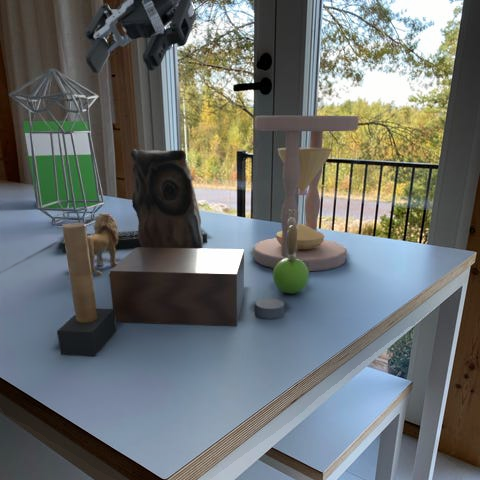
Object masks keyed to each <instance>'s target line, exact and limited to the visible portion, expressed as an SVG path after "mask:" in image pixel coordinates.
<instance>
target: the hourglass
mask: <svg viewBox="0 0 480 480" xmlns="http://www.w3.org/2000/svg"><path fill="white" fill-rule="evenodd" d="M359 120H360V119H359V116H357V115H256V116H255V117H254V130H256V131H263V132H264V131H265V132H266V131H267V132H285V147H280V148H279V147H278V148H277V152H278V156H279V158H280V160H281V161H282V163H283V167H282V184H283V188H284V193H285V196H284V197H285V198H284V202H283V204H282V207H281V212H280V223H281V231H278V232H276V234H275V235H276V237H274V238H268V239H267V238H266V239H264V240H261V241H258V242H257V243H256V244H254V246H253V247H252V258H253V259H254V262H256V263H258V264H260V265H261V266H263V267H266V268H271V269H274V268H275V266H276V265H277V264H278V263H279V262H280V261H281V260H283V259H285V258H288V256H287V248H286V236H287V231H288V219H289V213H288V210H289V209H290V210H291V211H293V210H296V212H295V213H293V212H291V213H290V218H291V217H293V218H294V219H295V220H296V224H295V226H296V227H297V254H296V258H297V259H299V260H301V261H302V262H304V263H305V265H306V266H307V268H308V271H309V272H320V271H321V272H322V271H327V270H332V269H336V268H339V267H340V266H342V265H344V264H345V262H346V258H347V250H348V249H347V248H346V247H345V246H344V245H342V244H341V243H339V242H336V241H333V240H329V239H325V234H324V233H323V232H320V231H318V218H319V213H320V209H321V197H320V193H319V188H318V186H319V183H320V180H321V178H322V173H323V166H324V165H325V164H326V162H327V160H328V159H329V158H330V156H331V153H332V151H333V150H332V149H333V148H329V147H328V148H326V147H323V138H324V132H353V131H354V132H355V131H357V130H358V129H359ZM301 132H310V134H309V135H310V136H309V147H301ZM307 188H308V190H307ZM296 194H297V195H298V196H305V200H304V216H305V217H304V218H305V223H304V224H303V223H299V208H298V203H297V198H296ZM298 223H299V224H298Z"/></svg>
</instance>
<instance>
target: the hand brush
mask: <svg viewBox="0 0 480 480" xmlns="http://www.w3.org/2000/svg"><path fill="white" fill-rule="evenodd" d="M61 225H62V226H61V227H62V234H63V238H64V242H65V248H66V252H65V255H66V260H67V269H68V275H69V281H70V289H71V294H72V302H73V308H74V315H73V316H72V317H70V318H69V319H68V320H67V321H66V322H65V323H64V324H63V325H61V326H60V328H58V329H57V330H56V333H57V340H58V345H59V350H60V351H59V352H60V355H61V356H81V357H82V356H84V357H96V356H97V354H98V353H99V352H100V351H101V350H102V348H103V347H104V346H105V345H106V344H107V343H108V342H109V340H110V339H111V338H112V337H113V336H114V334H115V333H116V332H117V326H116V324H117V323H116V322H115V315H114V309H113V308H100V307H99V308H98V307H97V302H96V295H95V287H94V279H93V273H92V271H91V263H90V255H89V247H88V240H87V234H88V232H87V226H86V223H85V224H84V223H83V222H81V223H79V222H69V223H65V224H61Z"/></svg>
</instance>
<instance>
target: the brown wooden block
mask: <svg viewBox="0 0 480 480" xmlns="http://www.w3.org/2000/svg"><path fill="white" fill-rule="evenodd" d="M117 263H118V264H117V265H116V266H113V267H112V268H111V269H110V270H109V274H108V277H109V278H108V279H109V285H110V294H111V305H112V309H114V315H115V323H128V324H129V323H130V324H131V323H132V324H133V323H134V324H159V325H160V324H163V325H189V326H190V325H191V326H192V325H193V326H195V325H196V326H219V327H220V326H221V327H222V326H223V327H224V326H225V327H237V326H238V323H239V318H240V315H241V309H242V305H243V300H244V295H245V250H244V249H238V248H203V249H196V248H148V247H135V248H134V249H133V250H132V251H131V252H129V253H128V254H127V255H126V256H125V257H124V258H123V259H121V261H119V262H117Z"/></svg>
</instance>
